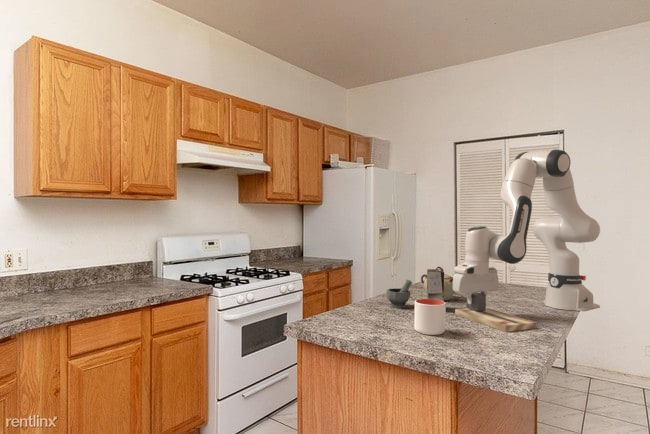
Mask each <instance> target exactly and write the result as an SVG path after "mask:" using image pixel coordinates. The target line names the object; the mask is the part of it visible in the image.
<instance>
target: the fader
mask: <svg viewBox="0 0 650 434" xmlns="http://www.w3.org/2000/svg"><path fill="white" fill-rule="evenodd" d="M470 296H471V298H472V299H473V300H474V303H473V304H468V299H467V298H466V307H465V308H469V309H472V310H476V311H484V310H486V308H487V301H486V300H487V295H485V294H481V292H474V293H472V295H470Z"/></svg>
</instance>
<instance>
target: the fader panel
mask: <svg viewBox="0 0 650 434" xmlns="http://www.w3.org/2000/svg"><path fill="white" fill-rule="evenodd" d="M454 315H456V316H459V317H462V318H465V319H467V320H470V321H473V322H476V323H478V324H481V325H485V326H488V327H491V328H493V329H496V330H499V331H502V332H503V333H507V332H508V333H509V332H515V331H523V330H530V329H537V321H534V320H530V319H526V318H523V317H519V316H516V315H513V314H509V313H506V312H504V311H503V312H502V311H500V310H496V309H492V308H489V307H486V310H484V311H476V310H472V309H469V308H466V307H463V308H456V309H454Z"/></svg>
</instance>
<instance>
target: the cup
mask: <svg viewBox="0 0 650 434" xmlns="http://www.w3.org/2000/svg"><path fill="white" fill-rule="evenodd" d="M446 307H447V305H446V302H445V300H444V301H441V300H436V299H427V298H420V299H415V301H414V329H415V331H416V332H418V333H420V334H422V335H426V336H438V335H439V336H440V335H442V334H444V333H445V331H446V314H447V313H446V310H447V309H446Z"/></svg>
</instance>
